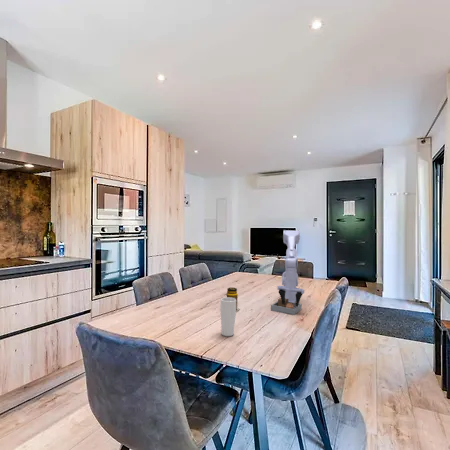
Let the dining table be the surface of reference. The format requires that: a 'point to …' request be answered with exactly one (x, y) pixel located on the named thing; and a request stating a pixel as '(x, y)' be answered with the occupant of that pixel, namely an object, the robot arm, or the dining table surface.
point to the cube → (281, 302)
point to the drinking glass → (228, 315)
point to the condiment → (232, 294)
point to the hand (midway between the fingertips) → (290, 304)
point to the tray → (286, 310)
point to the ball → (290, 306)
